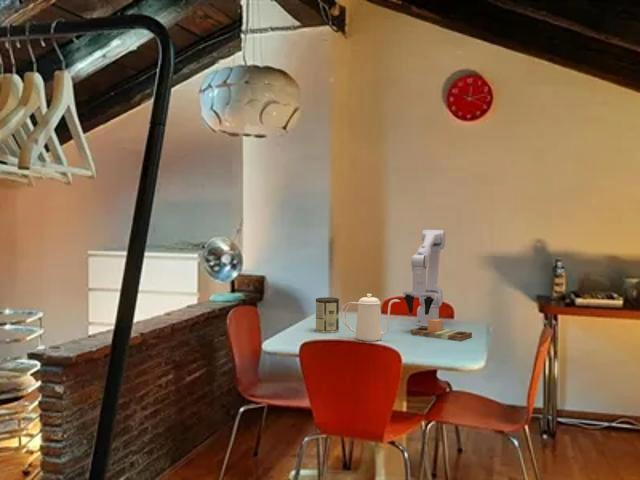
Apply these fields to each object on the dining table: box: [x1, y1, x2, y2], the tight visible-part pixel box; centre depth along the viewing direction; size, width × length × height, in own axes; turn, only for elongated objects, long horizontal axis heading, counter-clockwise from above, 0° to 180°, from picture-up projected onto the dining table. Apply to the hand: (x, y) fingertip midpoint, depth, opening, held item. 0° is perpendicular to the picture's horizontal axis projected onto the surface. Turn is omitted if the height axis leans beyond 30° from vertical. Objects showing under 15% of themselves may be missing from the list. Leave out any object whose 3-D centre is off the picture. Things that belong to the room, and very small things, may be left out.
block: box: [428, 319, 443, 332], centre depth 300 cm, size 4×4×4 cm
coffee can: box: [315, 296, 340, 334], centre depth 308 cm, size 10×10×14 cm
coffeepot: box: [340, 293, 400, 342], centre depth 290 cm, size 11×25×19 cm, turn 71°
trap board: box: [410, 326, 473, 342], centre depth 299 cm, size 23×11×2 cm, turn 55°
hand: (418, 313), depth 305 cm, fingers open, 7 cm apart
